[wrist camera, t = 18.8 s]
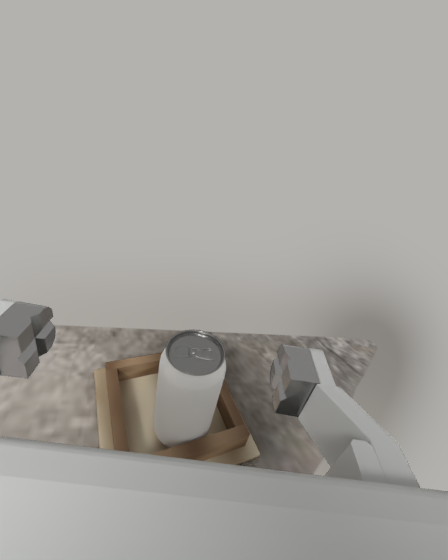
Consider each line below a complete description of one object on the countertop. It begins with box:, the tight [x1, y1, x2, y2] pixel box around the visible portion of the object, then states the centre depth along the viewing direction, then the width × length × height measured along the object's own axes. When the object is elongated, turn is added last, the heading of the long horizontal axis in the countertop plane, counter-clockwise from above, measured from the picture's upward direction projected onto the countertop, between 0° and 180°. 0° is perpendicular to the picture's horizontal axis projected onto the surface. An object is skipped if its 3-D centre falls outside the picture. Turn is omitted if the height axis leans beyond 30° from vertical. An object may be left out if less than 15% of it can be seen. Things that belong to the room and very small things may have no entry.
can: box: [154, 330, 226, 448], centre depth 30 cm, size 6×6×12 cm
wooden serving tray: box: [94, 353, 260, 465], centre depth 34 cm, size 16×16×3 cm
